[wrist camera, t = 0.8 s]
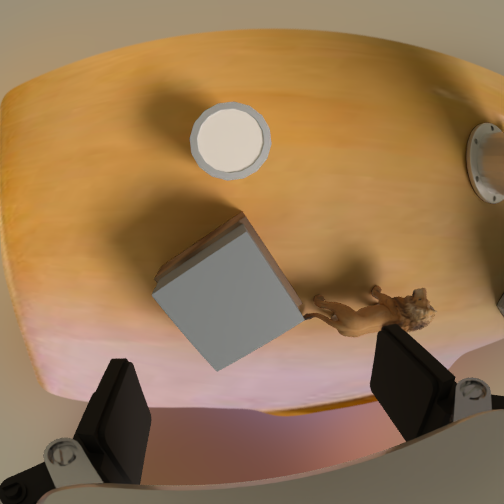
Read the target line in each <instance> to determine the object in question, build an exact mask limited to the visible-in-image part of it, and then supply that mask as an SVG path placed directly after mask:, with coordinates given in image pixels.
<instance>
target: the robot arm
mask: <svg viewBox="0 0 504 504" xmlns="http://www.w3.org/2000/svg"><path fill="white" fill-rule="evenodd" d="M466 159H467V169H468V174H469V178H470V181H471V184H472V186H473V188H474V190H475V192H476V193H477V195H478V196H479V197H480V198H481V199H482V200H483V201H485V202H488V203H493V204H496V203H499V202H501V201H502V200H503V199H504V132H502V131H501V130H500V129H499V128H498V127H497V126H496V125H494V124H491V123H482V124H479V125H477V126H476V127H475V128H474V129H473V131H472V132H471V134H470V137H469V140H468V144H467V158H466ZM454 380H455V376H454V375H453V374H452V373H451V372H449V370H447V369H446V368H445V367H444V366H443V365H442V364H441V363H440V362H439V361H438V360H437V359H436V358H434V357H433V356H432V355H431V354H430V353H429V352H428V351H427V350H426V349H425V348H423V347H422V346H421V345H420V344H419V343H418V342H417V341H416V340H415V339H413V338H412V337H411V336H410V335H409V334H408V333H407V332H406V331H404V330H403V329H402V328H401V327H400V326H399V325H398V324H391V325H387V326H383V327H382V328H381V331H379V332H378V335H377V342H376V349H375V356H374V363H373V369H372V375H371V381H370V388H371V391H372V393H373V394H374V395H375V397H376V398H377V400H378V401H379V403H380V404H381V405H382V407H383V408H384V410H385V411H386V413H387V414H388V416H389V417H390V419H391V420H392V422H393V423H394V425H395V426H396V427H397V429H398V430H399V432H400V433H401V435H402V436H403V438H404V439H405V440H406V442H405V443H402V444H400V445H397V446H395V447H392V448H389V449H386V450H384V451H381V452H378V453H375V454H372V455H369V456H366V457H362V458H359V459H356V460H352V461H349V462H345V463H342V464H338V465H334V466H331V467H326V468H322V469H319V470H314V471H309V472H305V473H300V474H295V475H289V476H284V477H278V478H272V479H265V480H258V481H249V482H240V483H229V484H217V485H216V484H215V485H189V486H161V485H140V481H141V475H142V469H143V464H144V457H145V452H146V447H147V441H148V436H149V431H150V426H151V414H150V411H149V408H148V406H147V403H146V400H145V397H144V395H143V392H142V389H141V386H140V383H139V380H138V377H137V374H136V371H135V368H134V365H133V363H132V362H128V360H127V359H126V358H125V359H111V361H110V363H109V365H108V367H107V369H106V371H105V373H104V375H103V377H102V379H101V381H100V383H99V386H98V388H97V390H96V392H94V393H93V395H92V397H91V399H90V401H89V403H88V405H87V408H86V410H85V412H84V414H83V416H82V419H81V421H80V423H79V426H78V428H77V430H76V432H75V435H74V437H73V439H71V438H60V439H56V440H54V441H53V442H51V443H50V444H49V445H48V446H47V447H46V449H45V450H44V455H43V456H44V461H45V462H43V463H41V464H39V465H36V466H34V467H32V468H30V469H28V470H25V471H23V472H21V473H18V474H16V475H14V476H11V477H9V478H7V479H6V480H4V481H3V482H2V483H1V485H0V504H504V396H498V395H491V391H490V387H489V386H488V385H487V384H486V383H485V382H484V381H482V380H480V379H477V378H465V379H462V380H461V381H459V382H458V384H457V383H456V382H455V381H454Z"/></svg>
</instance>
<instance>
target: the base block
mask: <svg viewBox="0 0 504 504" xmlns="http://www.w3.org/2000/svg"><path fill="white" fill-rule="evenodd" d="M242 224H244V226H245V227H246V229H247V230H248V232H249V233H250V235H251V236H252V238H253V239H254V241H255V243H256V244H257V246H258V247H259V249H260V250H261V252H262V253H263V255H264V256H265V258H266V259H267V261H268V262H269V264H270V265H271V267H272V268H273V270H274V271H275V273H276V274H277V276H278V278H279V279H280V281H281V282H282V284H283V285H284V287H285V288H286V290H287V291H288V293H289V294H290V296H291V297H292V299H293V300H294V302H295V304H296V305H297V307H298V306H299V305H301V304H302V302H301V300H300V298H299V297H298V295H297V294H296V292H295V291H294V289H293V287H292V286H291V284H290V283H289V281H288V280H287V278H286V277H285V275H284V274H283V272H282V271H281V269H280V268H279V266H278V264H277V263H276V261H275V260H274V258H273V257H272V255H271V254H270V252H269V251H268V249H267V248H266V246H265V245H264V243H263V242H262V240H261V239H260V237H259V236H258V234H257V233H256V231H255V230H254V228H253V226H252V225H251V223H250V222H249V220H248V219H247V217H246V216H245V214H244V213H243V211H242V212H241V213H239V214H238V215H236V216H235V217H233V218H232V219H230V220H229V221H227V222H226V223H224V224H223V225H221V226H220V227H218V228H217V229H215V230H214V231H212V232H211V233H209V234H208V235H207V236H205V237H204V238H202V239H201V240H199V241H198V242H196V243H195V244H193V245H192V246H190V247H189V248H188V249H186V250H185V251H183V252H182V253H180V254H179V255H177V256H176V257H175V258H173V259H172V260H170V261H169V262H167V263H166V264H165V265H163V266H162V267H161V268H160V270H159V271H158V273H157V275H156V276H155V278H154V279H155V281H156V282H157V283H158V281H159V280H160V279H161V278H163V277H164V276H165V275H167V274H168V273H170V272H171V271H173V270H174V269H176V268H177V267H179V266H180V265H182V264H183V263H185V262H186V261H188V260H189V259H191V258H192V257H193V256H195V255H196V254H198V253H199V252H201V251H202V250H204V249H205V248H207V247H208V246H210V245H211V244H213V243H214V242H216V241H217V240H219V239H220V238H222V237H223V236H225V235H227V234H228V233H230V232H231V231H233V230H234V229H236V228H237V227H239V226H240V225H242Z"/></svg>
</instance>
